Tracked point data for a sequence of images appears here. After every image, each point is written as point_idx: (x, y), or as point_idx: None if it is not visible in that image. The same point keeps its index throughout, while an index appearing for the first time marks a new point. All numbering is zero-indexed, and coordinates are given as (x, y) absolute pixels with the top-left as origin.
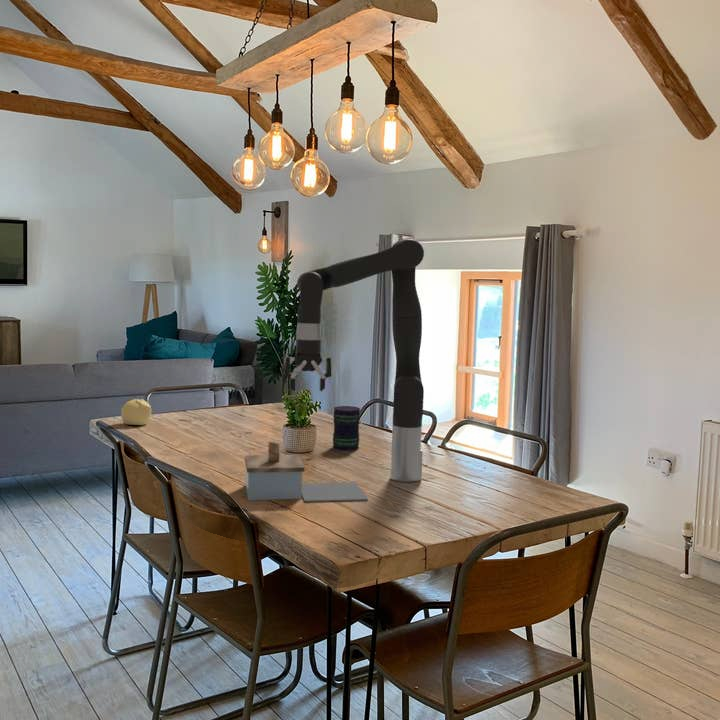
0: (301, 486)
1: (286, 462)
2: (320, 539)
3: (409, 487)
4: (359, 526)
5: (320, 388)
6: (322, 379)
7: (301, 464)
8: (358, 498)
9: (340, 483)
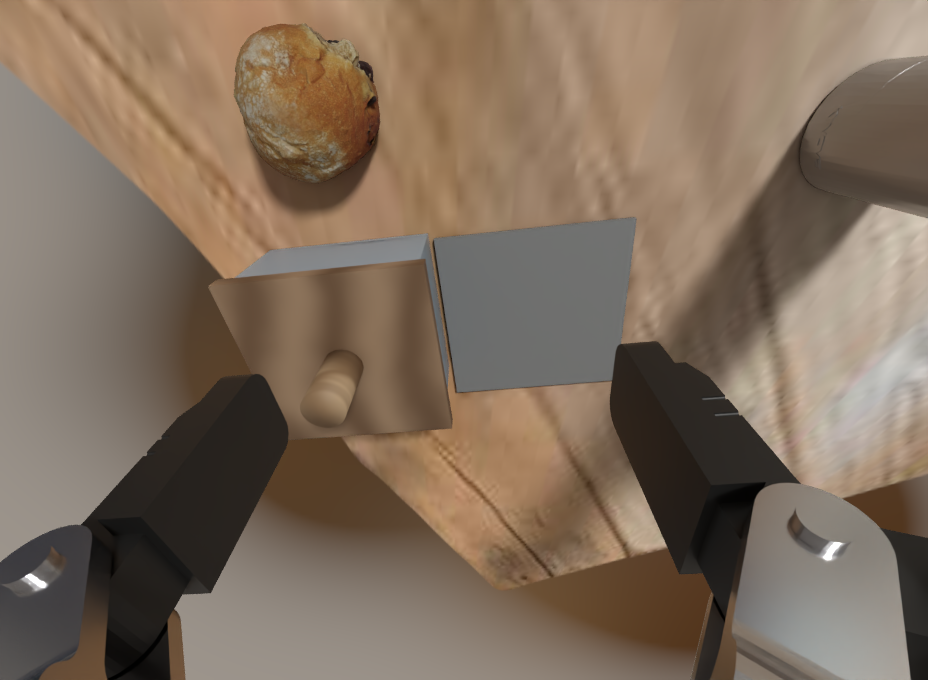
0: (447, 386)
1: (390, 379)
2: (479, 539)
3: (800, 254)
4: (552, 501)
5: (621, 423)
6: (709, 568)
7: (442, 399)
8: (593, 376)
9: (579, 235)
